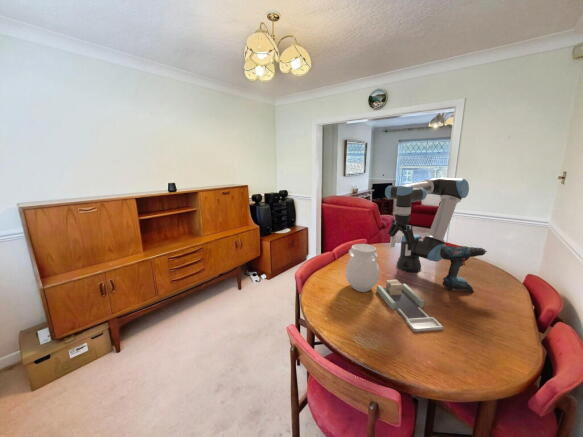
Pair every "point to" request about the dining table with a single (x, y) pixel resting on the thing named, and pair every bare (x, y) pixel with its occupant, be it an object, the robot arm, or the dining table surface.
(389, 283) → the block
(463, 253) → the power drill
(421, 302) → the channel
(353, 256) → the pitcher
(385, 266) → the dining table surface
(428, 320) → the tray
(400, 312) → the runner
